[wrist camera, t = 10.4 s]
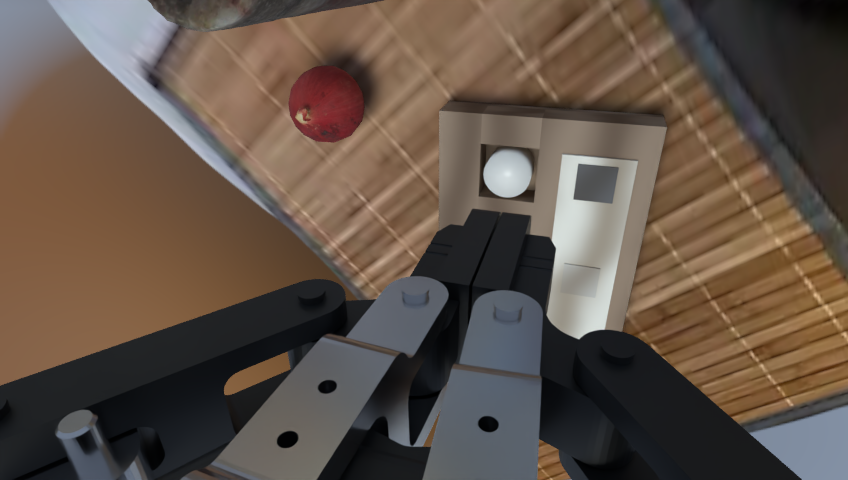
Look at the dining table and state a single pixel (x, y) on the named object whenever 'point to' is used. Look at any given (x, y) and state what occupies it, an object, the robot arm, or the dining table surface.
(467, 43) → the dining table surface
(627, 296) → the button board
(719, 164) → the dining table surface
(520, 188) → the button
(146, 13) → the dining table surface
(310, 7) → the candle
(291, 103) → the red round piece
